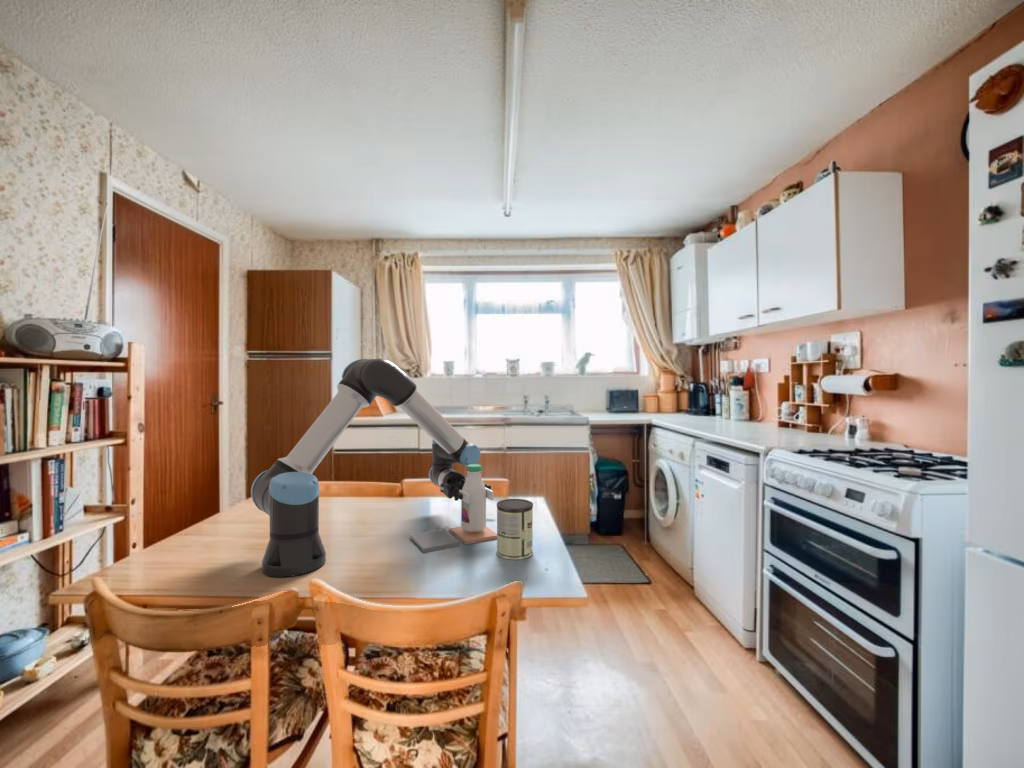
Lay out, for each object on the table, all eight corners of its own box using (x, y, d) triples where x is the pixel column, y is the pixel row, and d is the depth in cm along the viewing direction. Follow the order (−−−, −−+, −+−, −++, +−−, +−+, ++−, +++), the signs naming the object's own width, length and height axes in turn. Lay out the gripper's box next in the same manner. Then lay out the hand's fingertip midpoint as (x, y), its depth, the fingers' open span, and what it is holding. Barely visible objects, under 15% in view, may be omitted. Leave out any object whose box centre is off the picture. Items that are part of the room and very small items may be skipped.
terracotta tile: (465, 544, 136) (465, 540, 136) (449, 531, 147) (449, 528, 147) (498, 538, 141) (498, 534, 141) (480, 525, 153) (480, 522, 153)
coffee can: (498, 545, 135) (499, 497, 135) (533, 546, 134) (534, 499, 134) (494, 559, 125) (494, 507, 125) (531, 561, 124) (532, 509, 124)
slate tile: (423, 552, 130) (423, 548, 130) (410, 537, 141) (410, 534, 141) (459, 545, 135) (459, 542, 135) (443, 532, 146) (443, 529, 146)
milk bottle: (486, 524, 148) (486, 462, 148) (485, 532, 141) (486, 467, 140) (462, 524, 148) (462, 462, 148) (460, 532, 140) (460, 467, 140)
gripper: (478, 489, 165) (509, 505, 145) (424, 496, 155) (449, 514, 135) (478, 468, 165) (509, 481, 145) (424, 474, 155) (449, 488, 135)
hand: (480, 497), depth 140 cm, fingers closed on milk bottle, 7 cm apart
